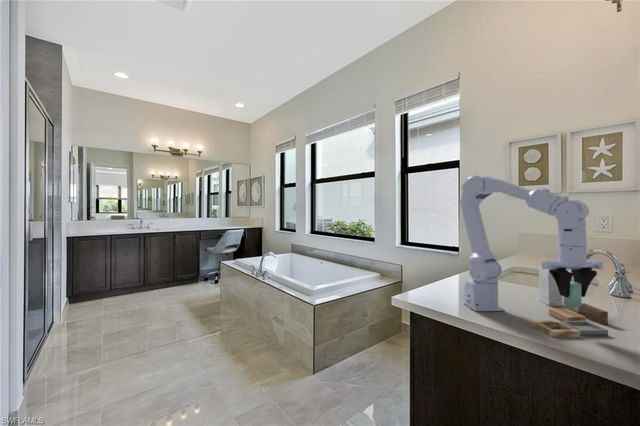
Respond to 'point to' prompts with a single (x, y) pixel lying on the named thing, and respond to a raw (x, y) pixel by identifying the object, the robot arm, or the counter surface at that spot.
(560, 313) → the tan cardboard block
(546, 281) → the skincare box
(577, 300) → the teal capsule
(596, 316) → the stop block
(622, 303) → the counter surface
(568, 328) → the socket block
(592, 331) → the tray
